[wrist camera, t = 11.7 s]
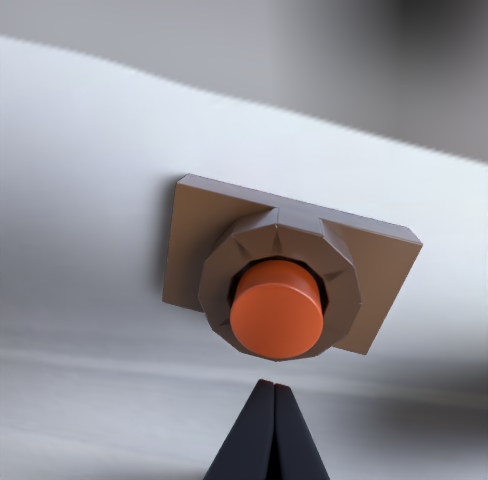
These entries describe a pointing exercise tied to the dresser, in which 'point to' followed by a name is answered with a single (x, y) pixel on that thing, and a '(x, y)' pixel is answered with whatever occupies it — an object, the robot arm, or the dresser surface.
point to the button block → (284, 258)
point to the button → (277, 309)
